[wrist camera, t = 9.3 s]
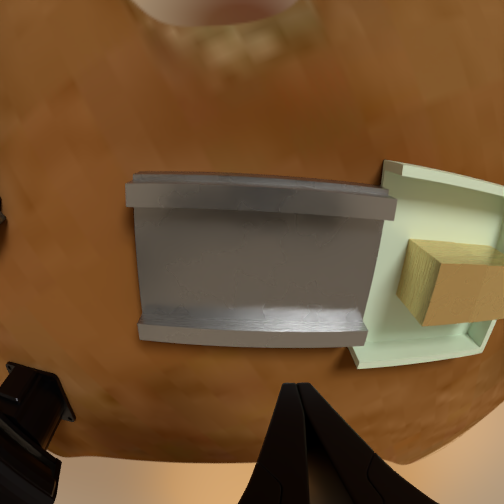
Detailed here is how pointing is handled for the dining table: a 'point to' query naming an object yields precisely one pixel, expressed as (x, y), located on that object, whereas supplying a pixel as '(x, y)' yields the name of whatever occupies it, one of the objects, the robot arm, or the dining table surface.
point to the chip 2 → (489, 284)
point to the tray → (393, 254)
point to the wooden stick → (2, 217)
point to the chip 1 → (440, 282)
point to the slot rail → (255, 258)
